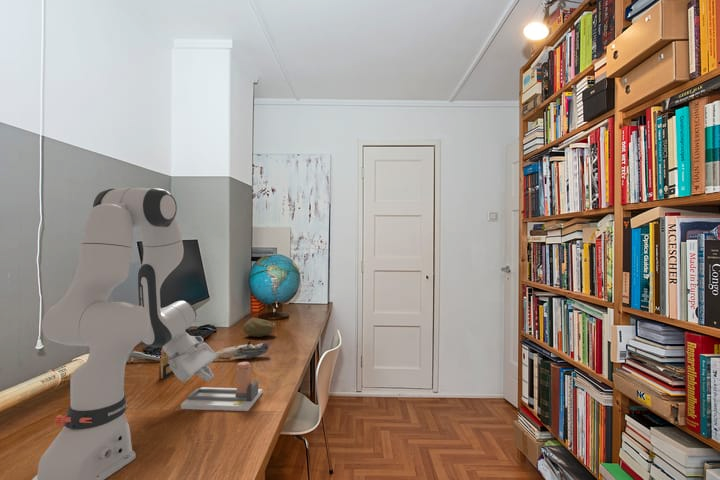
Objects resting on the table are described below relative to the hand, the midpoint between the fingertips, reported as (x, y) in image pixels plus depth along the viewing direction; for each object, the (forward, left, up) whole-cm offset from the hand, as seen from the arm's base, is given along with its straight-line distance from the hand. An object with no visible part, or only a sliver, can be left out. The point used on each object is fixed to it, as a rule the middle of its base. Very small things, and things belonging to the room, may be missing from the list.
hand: (211, 379), depth 131 cm
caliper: (+37, +45, -8) cm, 59 cm away
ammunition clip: (+23, +28, -7) cm, 37 cm away
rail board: (0, -4, -7) cm, 8 cm away
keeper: (0, -11, -6) cm, 13 cm away
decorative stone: (+82, +11, -7) cm, 83 cm away
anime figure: (+44, +10, -8) cm, 46 cm away
